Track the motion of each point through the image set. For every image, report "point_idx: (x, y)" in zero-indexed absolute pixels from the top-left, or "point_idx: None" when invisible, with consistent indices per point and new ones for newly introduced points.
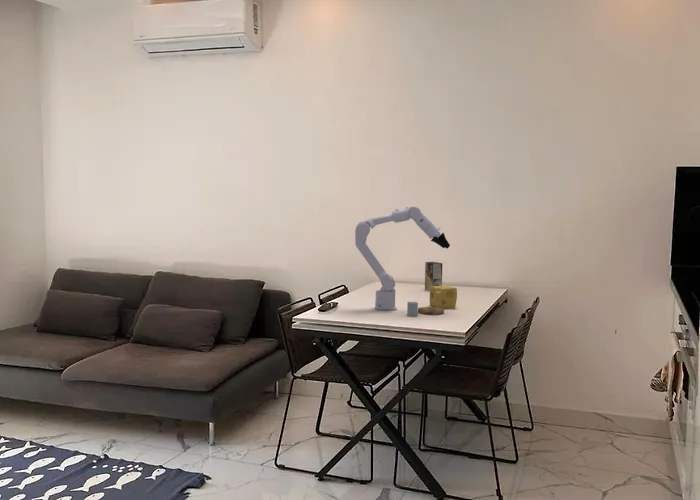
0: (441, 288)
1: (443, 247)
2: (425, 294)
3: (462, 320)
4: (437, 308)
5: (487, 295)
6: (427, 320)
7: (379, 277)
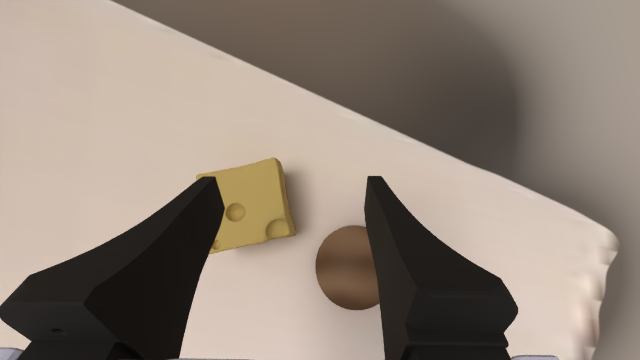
0: (272, 218)
1: (221, 211)
2: (6, 219)
3: (468, 196)
4: (342, 242)
5: (54, 13)
6: None
7: None
